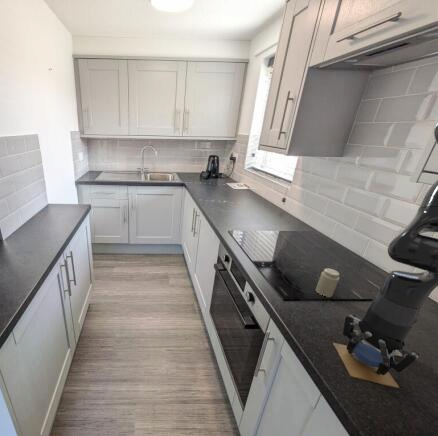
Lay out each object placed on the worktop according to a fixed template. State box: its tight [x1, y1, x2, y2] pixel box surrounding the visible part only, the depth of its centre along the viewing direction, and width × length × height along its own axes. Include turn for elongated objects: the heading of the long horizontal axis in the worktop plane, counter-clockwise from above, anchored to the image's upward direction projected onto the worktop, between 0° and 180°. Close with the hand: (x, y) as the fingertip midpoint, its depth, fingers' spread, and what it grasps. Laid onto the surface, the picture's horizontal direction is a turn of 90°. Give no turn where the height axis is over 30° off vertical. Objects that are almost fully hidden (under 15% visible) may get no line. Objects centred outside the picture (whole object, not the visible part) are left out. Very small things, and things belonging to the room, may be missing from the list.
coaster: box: [332, 342, 400, 389], centre depth 61 cm, size 10×10×1 cm
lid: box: [353, 342, 383, 367], centre depth 60 cm, size 6×6×2 cm
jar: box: [314, 267, 340, 298], centre depth 87 cm, size 5×5×10 cm
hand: (364, 362), depth 61 cm, fingers closed on lid, 5 cm apart
